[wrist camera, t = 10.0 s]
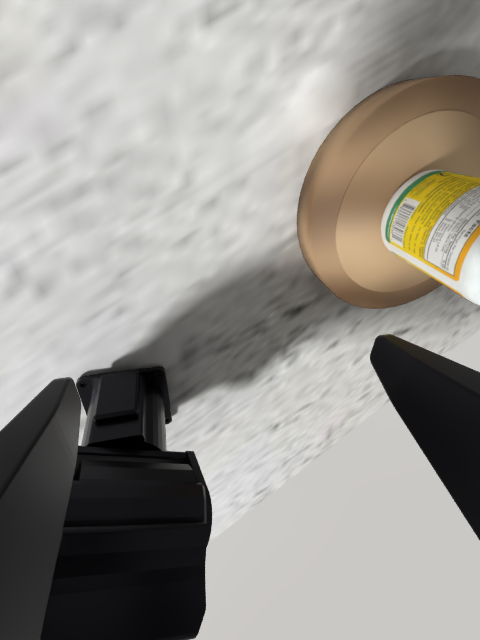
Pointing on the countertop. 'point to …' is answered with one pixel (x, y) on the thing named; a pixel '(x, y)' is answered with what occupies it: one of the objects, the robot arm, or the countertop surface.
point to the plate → (383, 183)
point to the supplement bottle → (438, 228)
